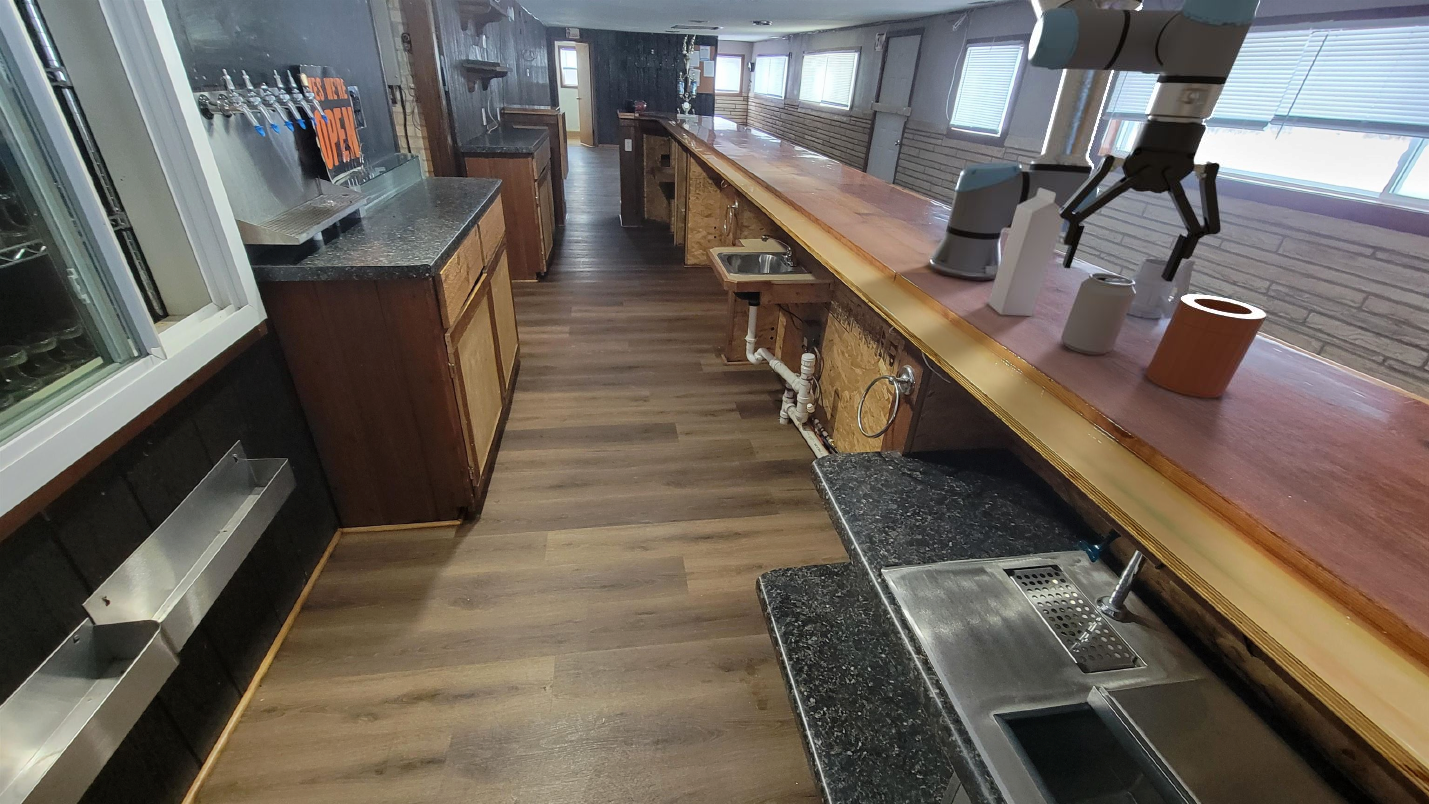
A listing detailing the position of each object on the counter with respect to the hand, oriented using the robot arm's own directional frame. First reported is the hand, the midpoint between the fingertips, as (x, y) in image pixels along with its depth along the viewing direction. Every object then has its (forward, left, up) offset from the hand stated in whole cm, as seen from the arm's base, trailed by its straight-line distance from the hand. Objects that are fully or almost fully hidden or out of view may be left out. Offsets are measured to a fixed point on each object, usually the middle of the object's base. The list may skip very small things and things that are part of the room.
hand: (1114, 272), depth 87 cm
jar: (+8, +12, -13) cm, 19 cm away
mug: (-24, +14, -13) cm, 31 cm away
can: (0, 0, -13) cm, 13 cm away
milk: (-14, -11, -13) cm, 22 cm away
